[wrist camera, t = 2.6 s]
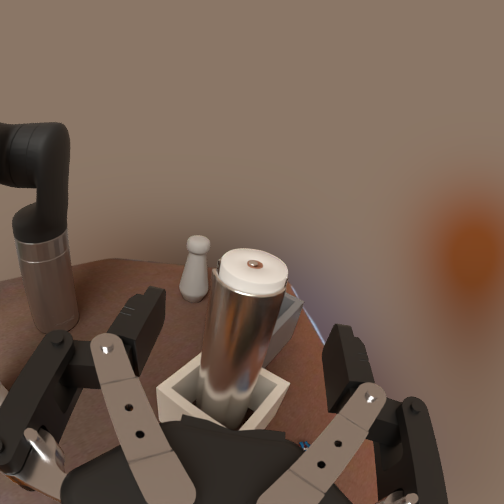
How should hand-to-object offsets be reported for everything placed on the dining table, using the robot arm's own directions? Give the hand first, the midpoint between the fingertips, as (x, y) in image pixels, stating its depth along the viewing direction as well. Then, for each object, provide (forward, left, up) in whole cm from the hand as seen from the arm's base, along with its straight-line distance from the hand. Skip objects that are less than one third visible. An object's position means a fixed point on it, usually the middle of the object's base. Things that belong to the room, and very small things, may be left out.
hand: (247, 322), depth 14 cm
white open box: (-5, +10, -28) cm, 30 cm away
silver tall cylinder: (-5, +10, -28) cm, 30 cm away
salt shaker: (-26, +29, -28) cm, 48 cm away
